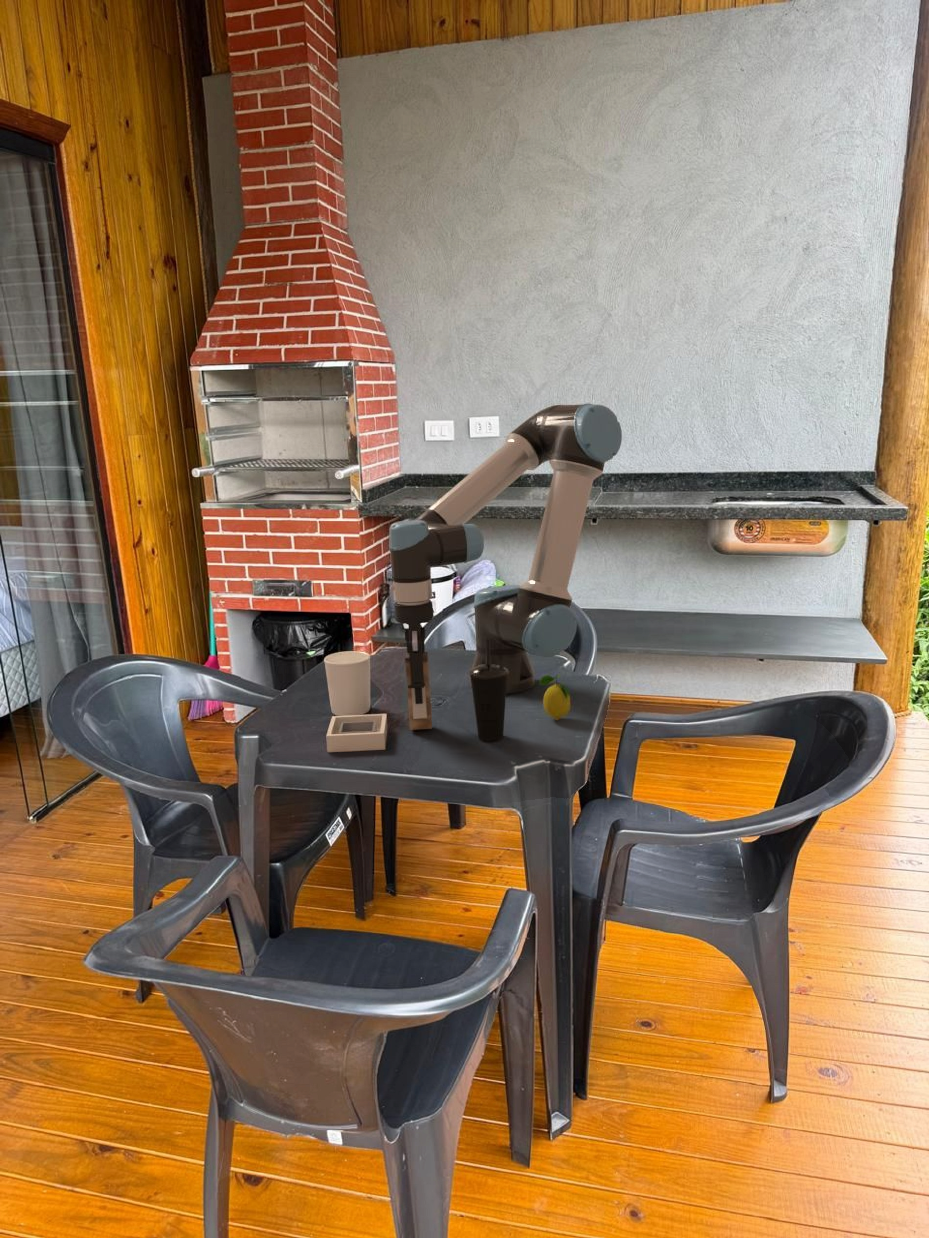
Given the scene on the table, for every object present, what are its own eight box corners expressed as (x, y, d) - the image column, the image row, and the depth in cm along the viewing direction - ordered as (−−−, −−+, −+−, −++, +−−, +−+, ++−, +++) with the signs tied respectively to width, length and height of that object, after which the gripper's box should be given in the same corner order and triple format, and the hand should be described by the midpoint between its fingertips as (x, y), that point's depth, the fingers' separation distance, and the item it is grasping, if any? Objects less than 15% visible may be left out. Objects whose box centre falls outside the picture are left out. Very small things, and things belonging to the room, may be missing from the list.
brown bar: (431, 722, 180) (427, 651, 177) (431, 728, 177) (427, 656, 173) (410, 723, 180) (405, 653, 176) (409, 729, 177) (405, 658, 173)
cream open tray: (387, 728, 180) (386, 713, 179) (385, 749, 169) (384, 733, 168) (333, 731, 179) (332, 716, 179) (327, 752, 169) (326, 736, 168)
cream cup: (365, 719, 186) (361, 664, 183) (321, 717, 188) (317, 663, 185) (379, 703, 195) (375, 651, 192) (337, 702, 197) (333, 650, 194)
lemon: (539, 715, 184) (538, 669, 182) (566, 713, 185) (566, 667, 182) (544, 726, 178) (543, 679, 175) (573, 724, 178) (573, 677, 176)
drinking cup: (471, 730, 177) (468, 634, 172) (509, 730, 177) (507, 633, 172) (470, 745, 170) (466, 644, 165) (510, 744, 169) (507, 643, 164)
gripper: (395, 592, 180) (402, 701, 186) (392, 611, 164) (400, 730, 170) (432, 590, 180) (438, 699, 186) (432, 609, 164) (439, 727, 170)
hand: (420, 713), depth 178 cm, fingers closed on brown bar, 3 cm apart
